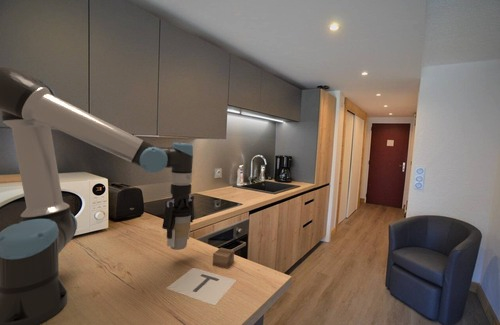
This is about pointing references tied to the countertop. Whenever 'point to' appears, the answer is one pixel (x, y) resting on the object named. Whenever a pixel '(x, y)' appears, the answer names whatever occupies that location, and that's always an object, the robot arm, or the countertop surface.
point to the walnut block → (223, 258)
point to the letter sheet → (202, 285)
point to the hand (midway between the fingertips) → (178, 242)
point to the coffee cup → (181, 227)
